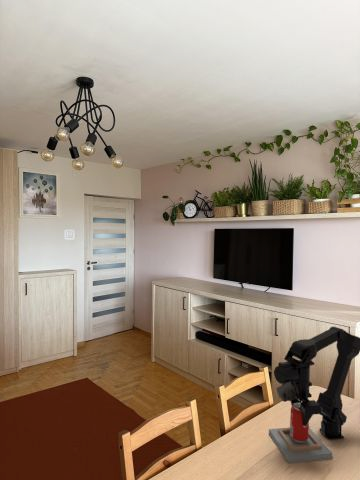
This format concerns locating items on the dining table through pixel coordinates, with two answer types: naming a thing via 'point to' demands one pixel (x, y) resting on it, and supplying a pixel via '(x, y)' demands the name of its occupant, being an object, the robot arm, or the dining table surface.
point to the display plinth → (300, 446)
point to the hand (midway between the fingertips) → (299, 420)
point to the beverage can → (298, 425)
